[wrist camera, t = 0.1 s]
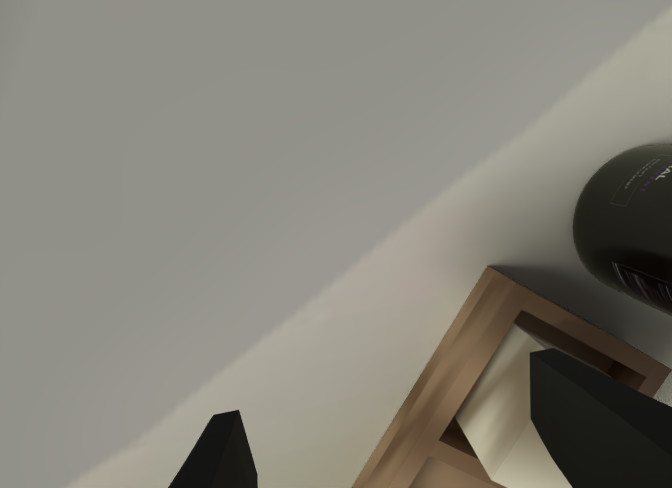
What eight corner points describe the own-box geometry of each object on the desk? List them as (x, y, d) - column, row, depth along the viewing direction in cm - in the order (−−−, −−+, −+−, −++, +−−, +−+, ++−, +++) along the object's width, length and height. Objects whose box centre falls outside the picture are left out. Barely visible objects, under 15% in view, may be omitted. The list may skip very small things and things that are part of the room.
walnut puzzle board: (460, 587, 26) (507, 717, 20) (325, 530, 24) (333, 651, 18) (625, 342, 24) (733, 405, 18) (487, 265, 22) (554, 307, 16)
